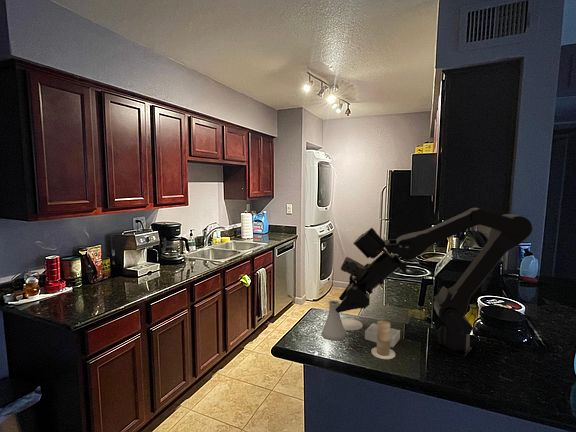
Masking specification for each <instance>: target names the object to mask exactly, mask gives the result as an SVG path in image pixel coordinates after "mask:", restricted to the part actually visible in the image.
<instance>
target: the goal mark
mask: <svg viewBox="0 0 576 432" xmlns="http://www.w3.org/2000/svg"><path fill="white" fill-rule="evenodd" d="M341 321H342V324H343V327H344V330H345V331H357V330H360V329H362V328H363V323H362V322H361V321H359V320H357V319H352V318H342V319H341Z"/></svg>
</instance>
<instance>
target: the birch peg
mask: <svg viewBox="0 0 576 432" xmlns="http://www.w3.org/2000/svg"><path fill="white" fill-rule="evenodd" d="M376 324H377V343H376V347H377V353H378V354H379V355H382V356H388V355H389V354H390V349H391V347H390V328H391V322H390V321H387V320H382V319H381V320H377V323H376Z"/></svg>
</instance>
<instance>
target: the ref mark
mask: <svg viewBox="0 0 576 432" xmlns="http://www.w3.org/2000/svg"><path fill="white" fill-rule="evenodd" d="M370 352H371V354H372V355H373V356H374V357H376V358H378V359H382V360H391V359H394V358H395V357H396V352H395V351H394V350H393V349H391V348H390V354H389V355H388V356H382V355H379V354H378V353H377V346H375V347H372V349H371V351H370Z"/></svg>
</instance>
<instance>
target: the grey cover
mask: <svg viewBox="0 0 576 432" xmlns="http://www.w3.org/2000/svg"><path fill="white" fill-rule="evenodd" d="M364 340H367V341H370V342H373V343H375V344H377V323H374V322H372V323H371V324H370V325H369V327H367V328H366V329H365V330H364ZM400 340H401V330H400V329H396V328H393V327H392V328H391V327H390V348H394V347H395V346H396V344H398V342H399V341H400Z"/></svg>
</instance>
